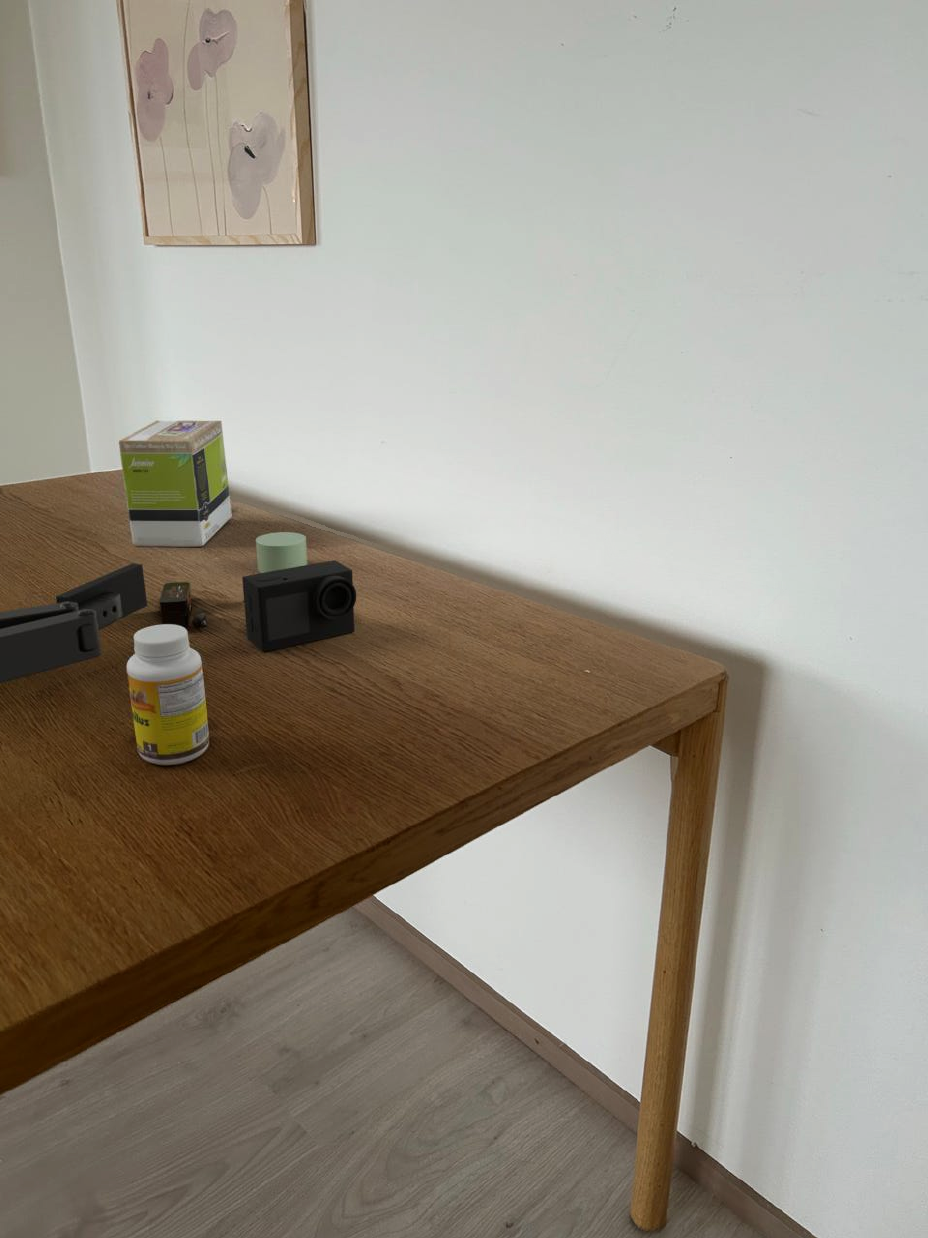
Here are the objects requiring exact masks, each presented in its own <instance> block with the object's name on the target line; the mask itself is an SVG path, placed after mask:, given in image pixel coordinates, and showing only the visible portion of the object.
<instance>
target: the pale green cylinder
mask: <svg viewBox="0 0 928 1238" xmlns="http://www.w3.org/2000/svg"><path fill="white" fill-rule="evenodd" d="M307 547H308V546H307V537H306V536H305V535H304V534H302V533H299V532H291V531H280V532H279V531H277V532H270V533H265V534H262V535H259V536H258V537H256V538H255V549H256V564H257V572H259V573H265V572H270V571H276V570H281V569H287V568H293V567H298V566H304V565H309V564H308V548H307Z"/></svg>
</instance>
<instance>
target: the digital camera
mask: <svg viewBox="0 0 928 1238" xmlns="http://www.w3.org/2000/svg"><path fill="white" fill-rule="evenodd" d="M241 579H242V580H241V581H242V594H243V602H244V603H243V604H244V616H245V626H246V627H245V628H246V638H247V640H248V641H249V642H250V643H252V645H254V646H255V647H256V648H257V649H259V650H260V651H261V652H263V653H265V652H269V651H274V650H276V651H277V650H279V649H283V648H289V647H293V646H298V645H301V644H302V645H303V644H307V643H311V642H315V641H319V640H324V639H329V638H334V637H336V636H341V635H347V634H350V633H354V632H355V609H354V607H355V605H356V602H357V591H356V588H355V586H354V583H353V581H354V580H353V570H352V569H351V568H349V567H348V566H346V565H344V564H343V563H340V562H339V561H337V560H335V559H334V560H328V561H322V562H316V563H310V564H308V565H304V566H298V567H293V568H287V569H281V570H276V571H270V572H265V573H261V572H259V573H255V574H249V575H244V576H242V578H241Z"/></svg>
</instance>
